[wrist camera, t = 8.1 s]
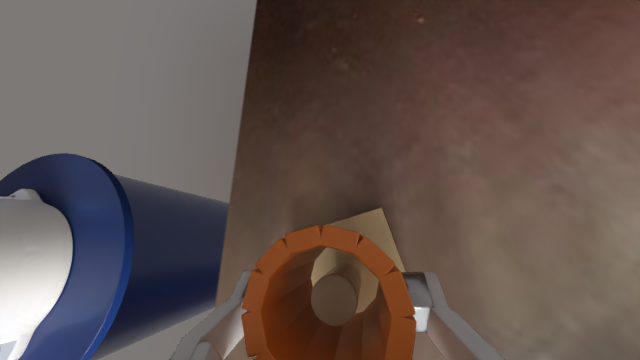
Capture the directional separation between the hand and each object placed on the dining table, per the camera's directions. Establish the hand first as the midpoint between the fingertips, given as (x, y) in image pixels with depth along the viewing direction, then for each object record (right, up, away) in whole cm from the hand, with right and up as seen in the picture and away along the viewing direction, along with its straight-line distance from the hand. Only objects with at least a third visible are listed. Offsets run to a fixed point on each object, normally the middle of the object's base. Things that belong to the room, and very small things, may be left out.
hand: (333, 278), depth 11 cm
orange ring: (+1, -2, +4) cm, 5 cm away
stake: (+2, -3, +8) cm, 9 cm away
